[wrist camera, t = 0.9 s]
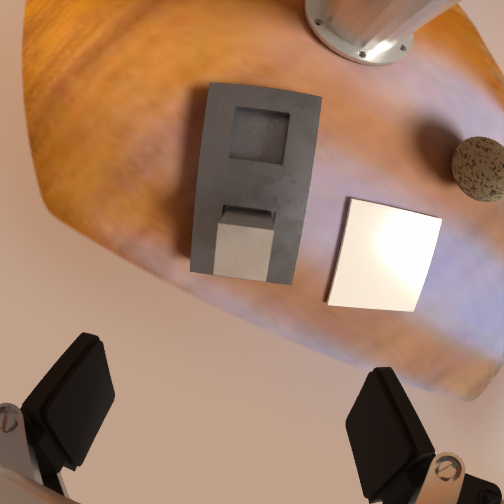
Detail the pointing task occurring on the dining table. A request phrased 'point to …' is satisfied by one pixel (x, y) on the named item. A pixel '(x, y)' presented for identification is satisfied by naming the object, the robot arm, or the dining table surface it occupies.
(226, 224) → the steel block
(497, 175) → the decorative egg
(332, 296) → the tile
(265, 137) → the block with square recesses
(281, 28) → the dining table surface
